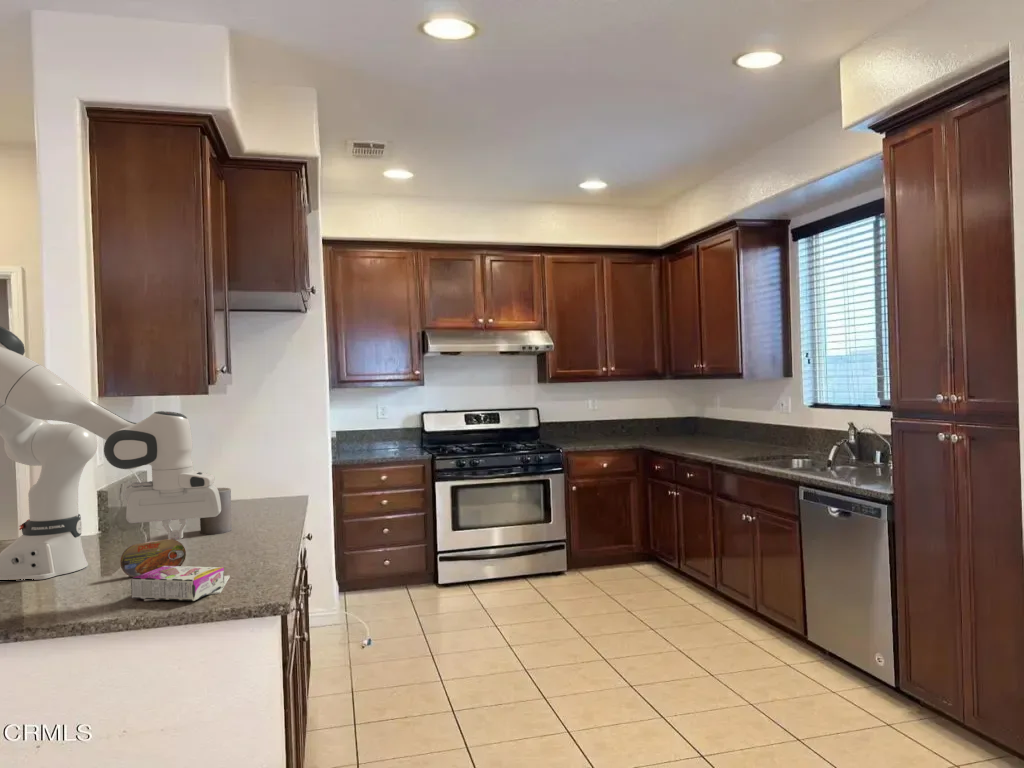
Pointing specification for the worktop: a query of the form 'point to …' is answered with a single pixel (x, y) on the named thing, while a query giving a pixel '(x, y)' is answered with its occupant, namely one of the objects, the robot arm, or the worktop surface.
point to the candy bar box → (177, 583)
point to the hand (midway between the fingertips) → (175, 538)
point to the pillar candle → (219, 516)
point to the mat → (208, 594)
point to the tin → (152, 556)
